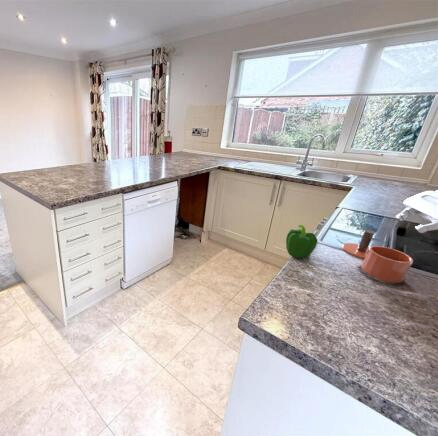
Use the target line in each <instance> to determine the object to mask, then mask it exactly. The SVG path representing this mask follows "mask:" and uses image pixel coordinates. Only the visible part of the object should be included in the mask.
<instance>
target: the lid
mask: <svg viewBox="0 0 438 436" xmlns="http://www.w3.org/2000/svg"><path fill="white" fill-rule="evenodd" d="M374 235H375V232H374V231H372V230H367V229H365V230H364V231H363V233H362V236H361V238H360V241H359V243H352V242H347V243H343V245H342V249H343V251H345V252H346V253H348V254H349V255H352V256H354V257H357V258H359V259H362V260H364V259H365V256H366V254H367V252H368V249H369V247H370V244H371V241H372V239H373V238H374Z"/></svg>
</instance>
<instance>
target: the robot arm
mask: <svg viewBox="0 0 438 436" xmlns="http://www.w3.org/2000/svg"><path fill="white" fill-rule="evenodd" d="M402 203H403V205H404V207H405V208H403V210H402V211H401V212H400V213H398V214H397V215H395V218H396V219H397V220H398V221H400V222H402V221H404V220H407V219H408V218H407V217H409V215H414V214H416V215H418V216H420V217H422V218H423V219H426V220H428V221H429V222H430V223H425V224H422V223H421V224H418V225H416V226H415V227H414V230H416V231H417V232H418V233H420V234H424V233H426V232H428V231H436V230H438V189H436V190H425V191H422V192H421V193H418V194H415V195H413V196H411V197H409V198H407V199H405V200H404V201H403V202H402Z"/></svg>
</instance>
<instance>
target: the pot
mask: <svg viewBox="0 0 438 436" xmlns="http://www.w3.org/2000/svg"><path fill="white" fill-rule="evenodd" d="M368 247H369V249H368V252H367V254H366V256H365V259H363V261H362V263H361V266H360V268H361V269H362V271H363V272H365V273H366V274H368V275H369V276H372V277H373V278H375V279H378V280H381V281H384V282H388V283H394V284H395V283H402V282H403V281H404V279H405V278H406V276H407V274H408V272H409V270H410V269H411V266H412V265H413V263H414V259H413V258H412V257H411V256H410V255H409V254H407V253H405V252H403V251H400V250H397V249H396V248H395V249H394V248H391V247H388V246H382V245H372V246H368Z"/></svg>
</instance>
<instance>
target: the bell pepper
mask: <svg viewBox="0 0 438 436" xmlns="http://www.w3.org/2000/svg"><path fill="white" fill-rule="evenodd" d="M285 239H286V240H285V241H286V242H285V245H286V251H287V253H288V255H289V256H290V257H293V258H296V259H302V258H308V257H310V256H311V254H312V253H313V252H314V250H315V249H316V248H317V244H318V238H317V236H316V235H315V233H313V232H306V227H305V226H304V225H303V224H298V229H292V228H291V229H290V230H289V231H288V233H287V235H286V237H285Z"/></svg>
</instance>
